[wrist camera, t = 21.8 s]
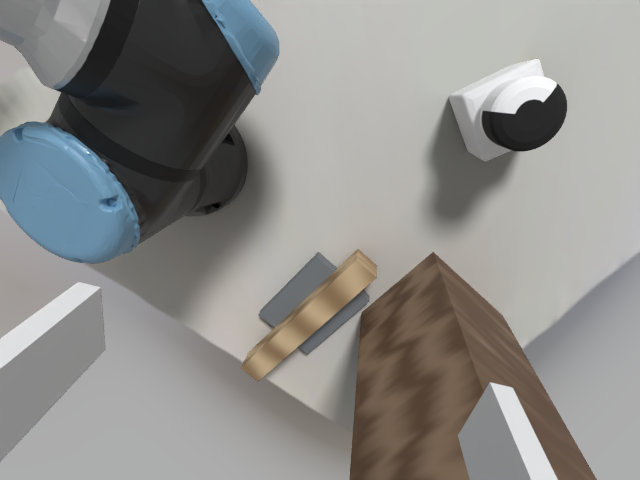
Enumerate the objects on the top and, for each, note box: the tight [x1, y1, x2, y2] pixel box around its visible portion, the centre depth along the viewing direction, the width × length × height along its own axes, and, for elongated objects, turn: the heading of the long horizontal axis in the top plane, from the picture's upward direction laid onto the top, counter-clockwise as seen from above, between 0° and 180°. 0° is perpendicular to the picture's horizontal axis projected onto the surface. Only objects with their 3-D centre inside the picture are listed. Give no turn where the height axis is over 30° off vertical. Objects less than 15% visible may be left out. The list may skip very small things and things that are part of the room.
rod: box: [241, 249, 377, 381], centre depth 51 cm, size 26×4×4 cm, turn 139°
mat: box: [259, 252, 369, 354], centre depth 53 cm, size 14×10×2 cm
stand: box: [350, 252, 597, 480], centre depth 37 cm, size 14×14×30 cm
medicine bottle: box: [449, 59, 567, 161], centre depth 35 cm, size 7×7×12 cm
